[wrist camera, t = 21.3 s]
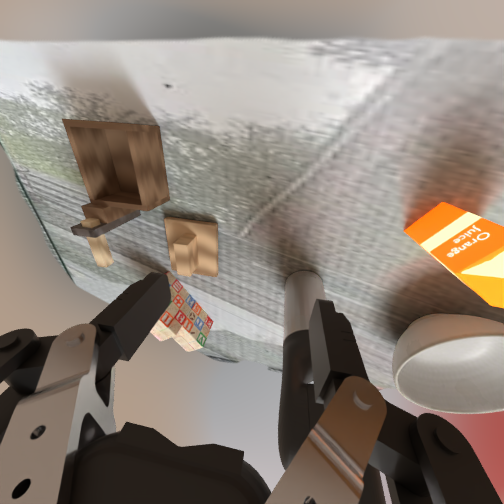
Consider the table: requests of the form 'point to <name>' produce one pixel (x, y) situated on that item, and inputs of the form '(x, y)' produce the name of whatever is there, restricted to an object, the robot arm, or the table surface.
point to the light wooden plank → (98, 244)
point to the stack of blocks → (183, 319)
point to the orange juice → (465, 248)
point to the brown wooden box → (117, 171)
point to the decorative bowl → (452, 364)
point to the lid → (192, 246)
